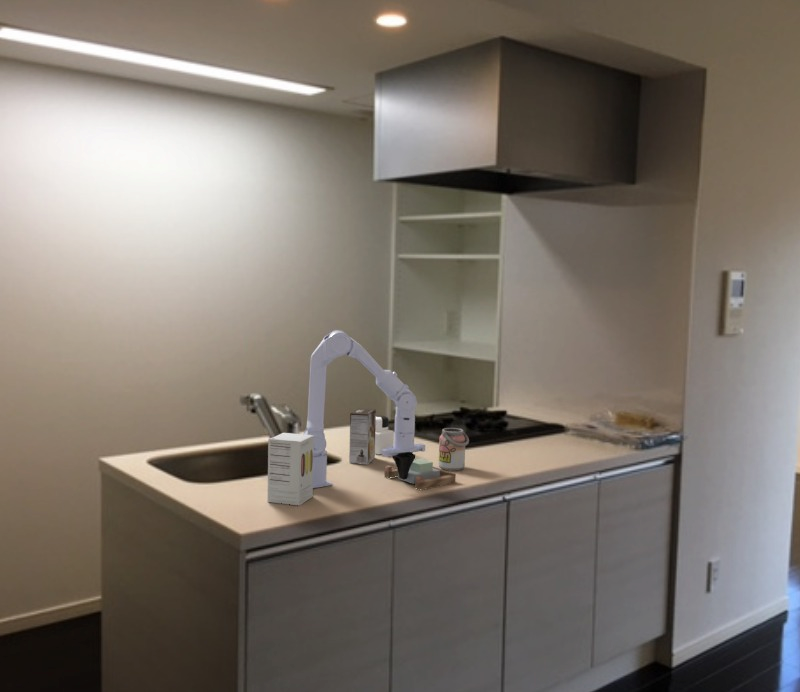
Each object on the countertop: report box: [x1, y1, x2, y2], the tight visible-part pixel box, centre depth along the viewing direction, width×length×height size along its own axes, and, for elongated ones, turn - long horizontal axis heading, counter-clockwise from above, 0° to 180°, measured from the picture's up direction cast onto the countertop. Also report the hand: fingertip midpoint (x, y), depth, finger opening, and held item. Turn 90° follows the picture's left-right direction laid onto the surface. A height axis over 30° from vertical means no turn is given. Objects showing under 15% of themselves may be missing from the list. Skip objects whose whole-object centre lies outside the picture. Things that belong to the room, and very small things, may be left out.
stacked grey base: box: [397, 458, 440, 485], centre depth 233 cm, size 10×7×6 cm
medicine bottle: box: [375, 415, 395, 455], centre depth 267 cm, size 7×7×12 cm
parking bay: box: [384, 465, 457, 491], centre depth 233 cm, size 14×16×4 cm
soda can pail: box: [438, 427, 470, 472], centre depth 248 cm, size 9×8×12 cm
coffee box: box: [348, 408, 377, 465], centre depth 254 cm, size 9×6×16 cm
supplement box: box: [267, 432, 314, 507], centre depth 210 cm, size 10×9×17 cm
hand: (403, 478), depth 229 cm, fingers closed
